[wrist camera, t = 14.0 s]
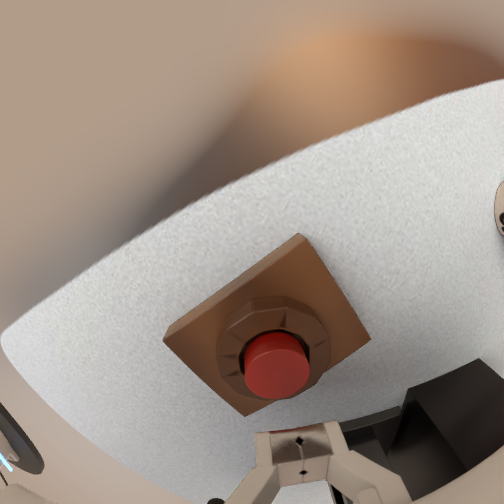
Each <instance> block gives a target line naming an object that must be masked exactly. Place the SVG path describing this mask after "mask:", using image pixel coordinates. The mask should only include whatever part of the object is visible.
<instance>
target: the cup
mask: <svg viewBox="0 0 504 504" xmlns="http://www.w3.org/2000/svg"><path fill="white" fill-rule="evenodd" d="M495 219H496V224H497V227H498V229H499V231H500V233H501V234H502V235H504V182H502V183H501V185H500V186H499V188H498V190H497V194H496V198H495Z"/></svg>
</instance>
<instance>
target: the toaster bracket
mask: <svg viewBox="0 0 504 504" xmlns="http://www.w3.org/2000/svg"><path fill="white" fill-rule="evenodd" d="M403 414H404V413H403V411H402V410H401V408H400V407H399V406H397V407H394V408H391V409H388V410H385V411H382V412H379V413H376V414H372V415H369V416H365V417H362V418H358V419H354V420H350V421H347V422H342V423H339V426H340V429H341V431H342V434H343V436H344V439H345V441H346V444H347V446H348V449H349V451H351V450H354V451H355V452H357V453H359V454H361V455H362V456H364V457H366V458H367V459H369V460H371V461H373V462H375V463H376V464H378V465H380V466H382V467H384V468H386V469H387V470H389V471H391V472H393V473H394V471H393V469H392V466H391V464H390V462H389V460H388V458H387V455H388V453H389V450H390V448H391V446H392V443H393V441H394V438H395V436H396V433H397V431H398V428H399V425H400V423H401V420H402V417H403ZM327 482H328V481H327ZM328 485H329V489H330V492H331V496H332V499H333V503H334V504H353V501H352V500H350V499H349V498H348V497H346V496H345V495H344V494H343V493H341V492H340V491H339V490H337V489H336V488H335V487H334V486H333V485H331V484H330V483H329V482H328Z"/></svg>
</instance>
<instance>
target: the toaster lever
mask: <svg viewBox="0 0 504 504" xmlns="http://www.w3.org/2000/svg"><path fill="white" fill-rule="evenodd" d="M224 503H225V502H224V500H222V499H219V498H213V499H211V500H209V501H208V503H207V504H224Z"/></svg>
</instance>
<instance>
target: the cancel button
mask: <svg viewBox="0 0 504 504" xmlns="http://www.w3.org/2000/svg"><path fill="white" fill-rule="evenodd" d="M244 366H245V381H246V384H247V386H248V387H249V389H250V390H251V391H252V392H253V393H255V394H256V395H258V396H261V397H264V398H269V399H279V398H285V397H288V396H291V395H293V394H295V393H296V392H298V391H299V390H300V389H302V388H303V387H304V385H305V384H306V383H307V381H308V379H309V376H310V366H309V363H308V360H307V357H306V355H305V352H304V350H303V347H302V345H301V343H300V342H299V341H298V340H297V339H296V338H295V337H293V336H292V335H290V334H287V333H283V332H270V333H266V334H263V335H261V336H259V337H257V338H256V339H254V340H253V341H252V342H251V343H250V344H249V345H248V347H247V349H246V351H245V355H244Z"/></svg>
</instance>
